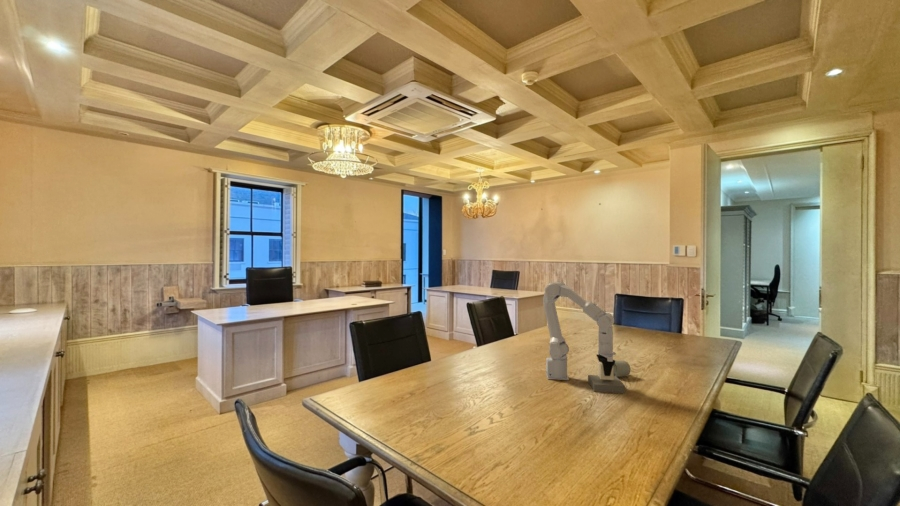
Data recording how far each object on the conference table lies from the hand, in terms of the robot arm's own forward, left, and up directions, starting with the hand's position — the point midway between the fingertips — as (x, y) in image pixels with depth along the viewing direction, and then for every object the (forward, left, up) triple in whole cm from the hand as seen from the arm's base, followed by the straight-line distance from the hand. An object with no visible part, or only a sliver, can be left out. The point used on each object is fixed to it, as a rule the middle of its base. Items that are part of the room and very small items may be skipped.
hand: (605, 373), depth 157 cm
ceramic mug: (+9, +17, -6) cm, 20 cm away
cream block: (0, 0, -2) cm, 2 cm away
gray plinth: (0, 0, -6) cm, 6 cm away
